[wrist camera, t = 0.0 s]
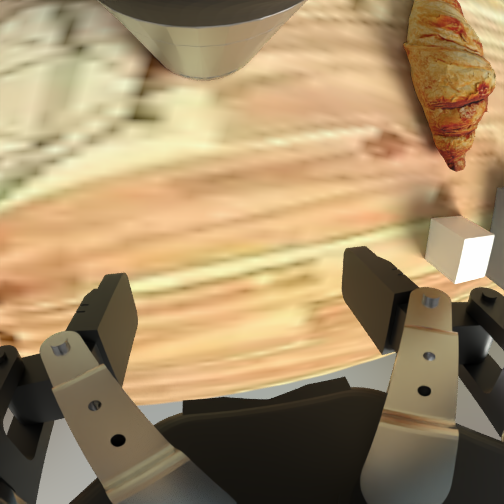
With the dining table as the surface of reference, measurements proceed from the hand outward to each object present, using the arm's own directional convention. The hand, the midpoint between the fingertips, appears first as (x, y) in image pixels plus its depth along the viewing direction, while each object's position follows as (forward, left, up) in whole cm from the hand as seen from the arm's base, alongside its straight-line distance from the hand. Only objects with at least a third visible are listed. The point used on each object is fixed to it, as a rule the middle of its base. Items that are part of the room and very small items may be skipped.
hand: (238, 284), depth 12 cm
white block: (+8, +25, -17) cm, 31 cm away
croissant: (-11, +23, -18) cm, 31 cm away
